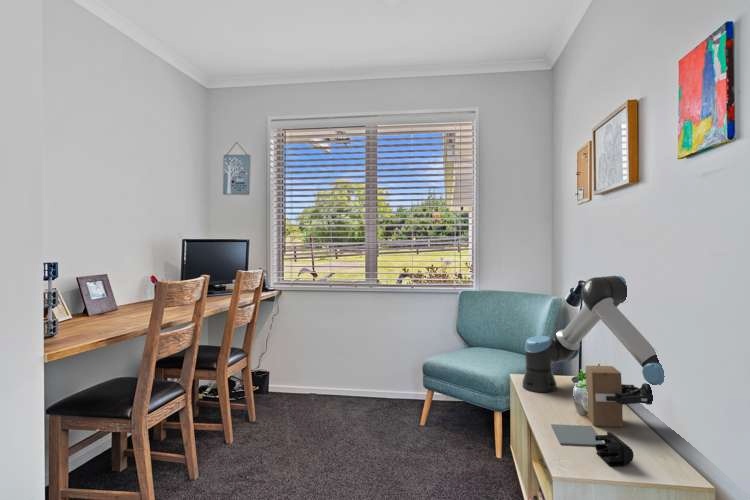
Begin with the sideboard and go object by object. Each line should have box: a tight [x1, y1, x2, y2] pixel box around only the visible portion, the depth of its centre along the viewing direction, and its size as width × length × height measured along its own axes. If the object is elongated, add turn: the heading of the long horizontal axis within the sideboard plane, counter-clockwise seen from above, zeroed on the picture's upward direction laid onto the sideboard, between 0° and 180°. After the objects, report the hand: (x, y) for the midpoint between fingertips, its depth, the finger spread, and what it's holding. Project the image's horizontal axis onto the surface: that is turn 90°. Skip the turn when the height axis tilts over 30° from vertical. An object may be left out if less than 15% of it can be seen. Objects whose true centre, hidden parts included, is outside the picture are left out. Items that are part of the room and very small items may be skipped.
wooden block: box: [584, 365, 624, 428], centre depth 170 cm, size 10×10×20 cm
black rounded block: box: [595, 431, 635, 468], centre depth 140 cm, size 10×7×7 cm
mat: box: [550, 423, 605, 447], centre depth 159 cm, size 16×14×1 cm
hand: (591, 392), depth 170 cm, fingers open, 10 cm apart
